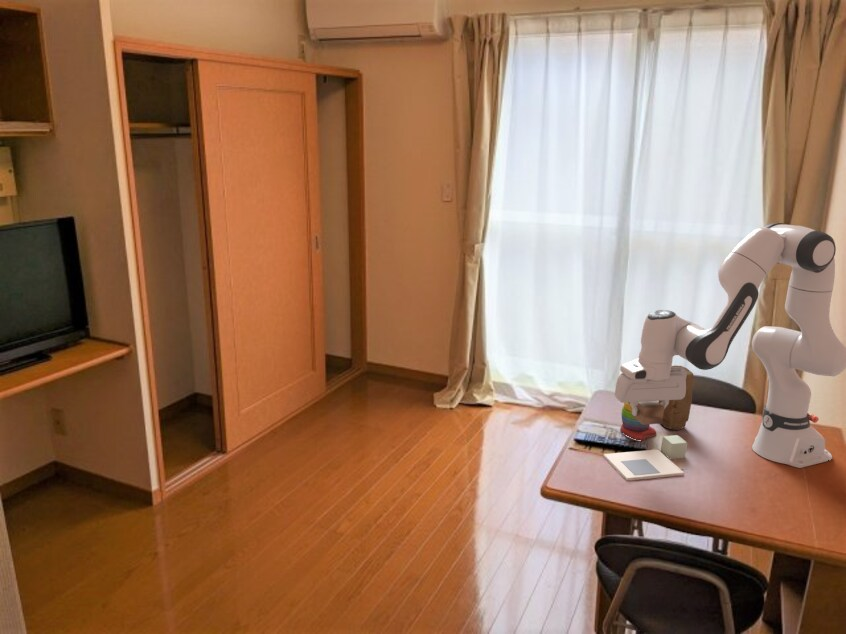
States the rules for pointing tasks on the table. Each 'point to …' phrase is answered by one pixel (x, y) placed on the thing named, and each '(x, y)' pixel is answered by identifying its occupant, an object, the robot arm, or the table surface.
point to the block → (679, 406)
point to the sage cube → (673, 446)
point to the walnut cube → (650, 412)
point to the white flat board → (643, 464)
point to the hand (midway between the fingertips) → (647, 414)
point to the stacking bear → (634, 425)
